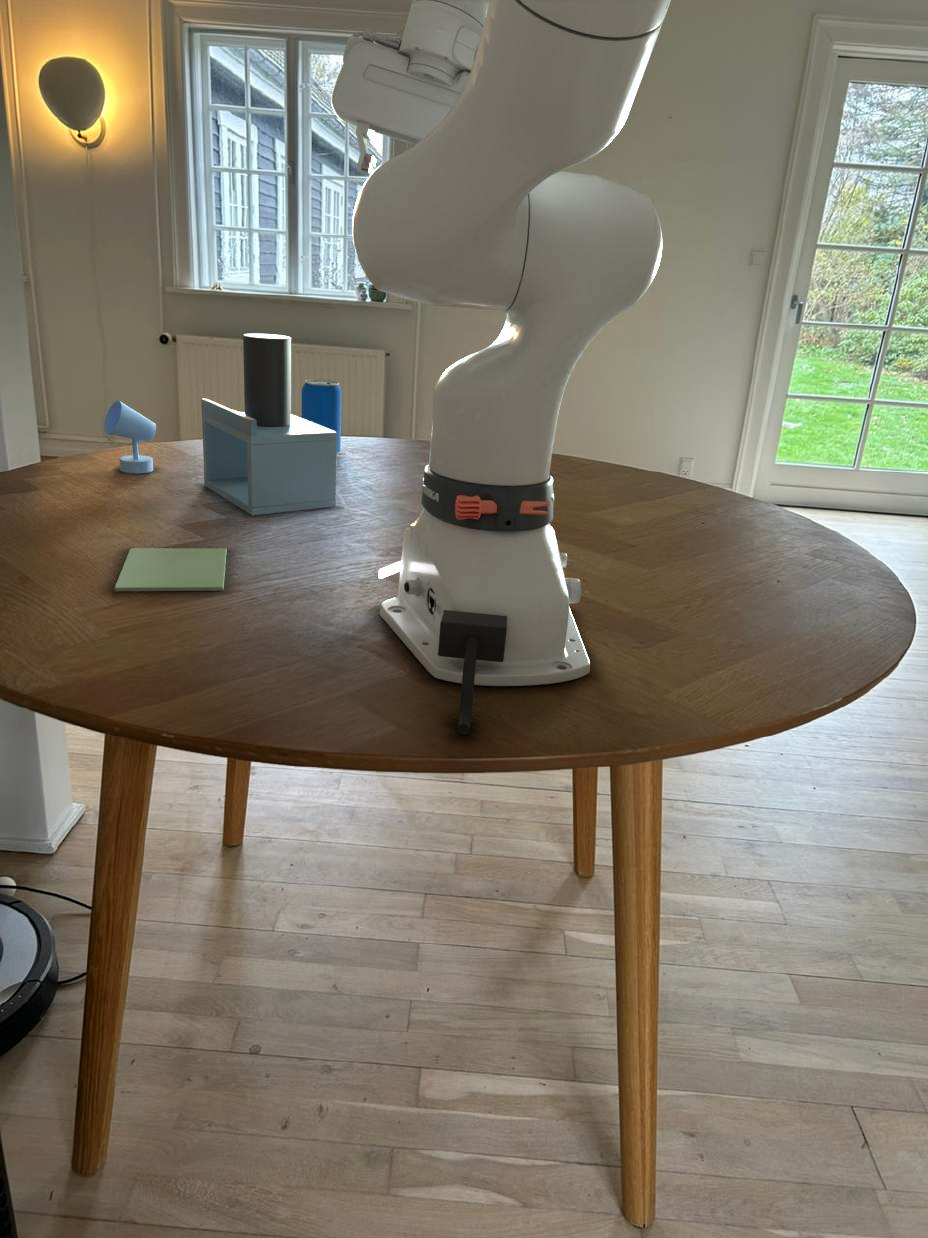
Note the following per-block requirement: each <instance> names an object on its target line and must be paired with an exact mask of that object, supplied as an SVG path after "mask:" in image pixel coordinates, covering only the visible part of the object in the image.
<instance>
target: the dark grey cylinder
mask: <svg viewBox="0 0 928 1238" xmlns="http://www.w3.org/2000/svg"><path fill="white" fill-rule="evenodd" d="M242 344H243V345H242V346H243V347H242V351H243V352H242V353H243V397H244V399H243V400H244V403H243V404H244V412H245V415H246V416H248V417H251V418H253V419H255V420H256V423H257V426H264V427H281V426H287V425H290V424H291V414H292V337H290V336H287V335H282V334H275V333H274V334H273V333H272V334H271V333H244V334H243V335H242Z"/></svg>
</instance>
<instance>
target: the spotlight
mask: <svg viewBox="0 0 928 1238" xmlns="http://www.w3.org/2000/svg"><path fill="white" fill-rule="evenodd" d="M103 430H104V432H105V434H107V435H111V436H117V437H122V438H126V439H132V441H131V444H132V447H131V449H132V454H131V455H130V454H129V455H124V456H121V457H119V469H120V472H122V473H127V474H147V473H151V472H153V471H154V463H153V457H151V456H148V455H143V454H139V453H140V452H139V442H140V441H141V442H142V441H143V442H146V443H149V442H151V441H152V440H153V439H154V437H155V434H156V430H157V425H156V423H155V422H153V421H152V420H150V419H149V418H147V417H145V416H144V415H142V414H141V413H139V412H138V411H137V410H135V409H133V408H131V407H129V406H128V405H126V403H123V402H122V401H120V400H115V401H114V402H113V403H112V404H111V405H110V406H109V408H108V409H107V412H106V414H105V418H104V421H103Z"/></svg>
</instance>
